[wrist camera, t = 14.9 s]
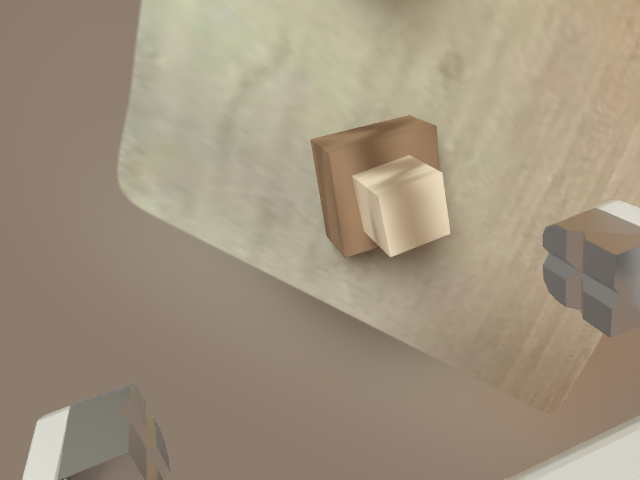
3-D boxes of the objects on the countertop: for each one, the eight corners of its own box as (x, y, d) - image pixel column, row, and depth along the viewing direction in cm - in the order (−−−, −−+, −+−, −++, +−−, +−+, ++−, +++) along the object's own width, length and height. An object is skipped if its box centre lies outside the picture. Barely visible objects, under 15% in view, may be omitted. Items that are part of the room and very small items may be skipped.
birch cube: (409, 154, 40) (442, 172, 36) (418, 210, 42) (450, 233, 38) (351, 175, 39) (377, 196, 35) (364, 231, 41) (390, 257, 37)
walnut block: (407, 114, 44) (436, 126, 40) (414, 208, 48) (441, 228, 44) (309, 138, 42) (328, 153, 38) (325, 234, 46) (344, 257, 42)
